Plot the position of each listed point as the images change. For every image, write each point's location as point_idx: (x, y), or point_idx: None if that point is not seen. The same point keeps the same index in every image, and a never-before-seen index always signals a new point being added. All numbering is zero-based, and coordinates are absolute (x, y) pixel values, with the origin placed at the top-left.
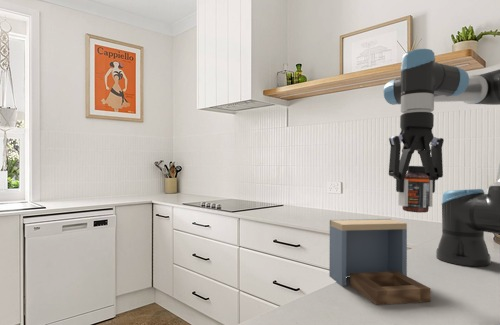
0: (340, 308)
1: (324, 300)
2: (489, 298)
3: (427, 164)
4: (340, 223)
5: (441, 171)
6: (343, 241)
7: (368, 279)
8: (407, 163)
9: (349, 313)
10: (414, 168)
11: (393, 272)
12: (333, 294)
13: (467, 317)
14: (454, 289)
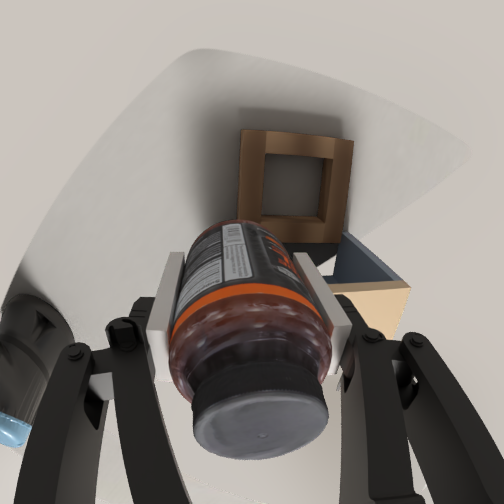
0: (397, 145)
1: (402, 179)
2: (115, 131)
3: (167, 438)
4: (402, 304)
5: (62, 371)
6: (386, 268)
7: (330, 201)
8: (381, 411)
9: (394, 126)
10: (315, 385)
11: None
12: (380, 198)
13: (228, 61)
14: (144, 182)
